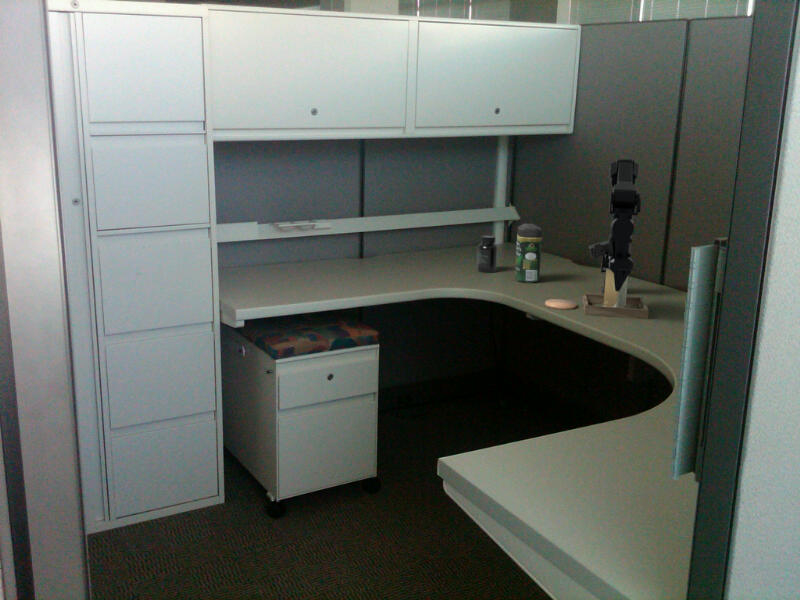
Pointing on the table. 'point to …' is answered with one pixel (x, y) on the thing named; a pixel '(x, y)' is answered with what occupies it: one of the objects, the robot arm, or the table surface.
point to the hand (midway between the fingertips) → (615, 287)
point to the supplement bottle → (487, 255)
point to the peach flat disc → (560, 304)
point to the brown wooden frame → (615, 310)
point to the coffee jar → (528, 253)
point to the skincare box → (614, 292)
